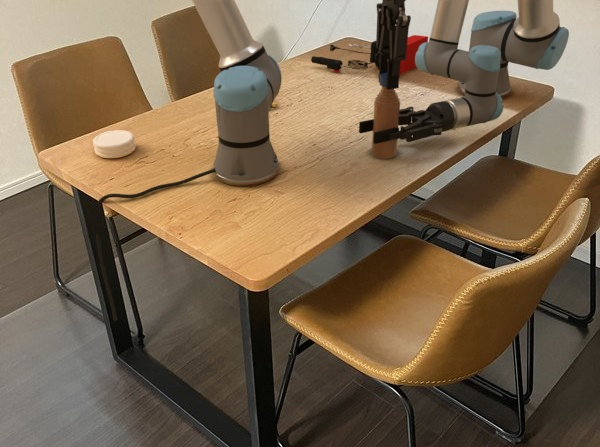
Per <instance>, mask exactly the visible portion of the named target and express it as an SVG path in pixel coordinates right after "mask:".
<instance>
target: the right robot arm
mask: <svg viewBox="0 0 600 447" xmlns="http://www.w3.org/2000/svg"><path fill="white" fill-rule="evenodd" d="M469 2H470V0H438V1H437V4H436V9H435V14H434V18H433V22H432V27H431V31H430V36H429V38H428V43H427V42H425V43H423V44H421V45H420V47H419V48H418V51H417V52H416V56H415V64H416V67H415V68H417V69H418V70H419V71H420V72H424V73H427V74H430V75H432V76H436V77H437V76H438V77H442V78H446V79H450V80H453V81H458V84H457V90H458V92H459V93H460V94H461V95H463V96H461V97H454V98H450V99H446V100H442V101H441V100H440V101H436V102H432V103H430V104H429V105H428V107H426V109H425V110H424V109H420V110H414V106H408V107H405V108H400V112H399V125H398V127H396V128H391V129H387V130H382V131H377V132H374V139H373V143H374V144H377V143H382V142H386V141H391V140H395V139H397V140H401V141H402V140H403V141H404V140H405V141H406V142H407V143H411V142H415V141H419V140H422V139H426V138H429V137H433V136H435V137H436V136H441V135H442V133H444V132H445V133H446V132H448V131H453V130H454V131H456V130H457V129H462V128H465V127H470V126H475V125H479V124H486V123H488V122H492V121H495V120H497V119H498V118H500V117H501V115H502V113H503V111H504V104H503V98H506V97H508V96H509V95H510V94H511V88H512V86H511V81H510V75H509V69H508V68H509V63H511V64H516V65H519V66H523V67H528V68H532V69H536V70H545V71H549V70H552V69H553V68H555V67H556V66H557V64H558V63H559V61H560V60H561V58H562V56H563V54H564V52H565V50H566V48H567V44H568V42H569V37H570V36H569V35H570V31H569V29H568V28H567V27H565V26H561V24H560V22H561V20H560V17H559V15H558V13H557V12H555V11H554V0H517V12H518V14H517V13H516V11H513V10H490V11H484V12H481V13H478V14H477V15H476V16H474V18H473V21H472V25H471V29H470V37H469V38H470V39H469V47H468V50H463V49H460V48H459V43H460V38H461V34H462V30H463V26H464V22H465V19H466V14H467V10H468V6H469ZM373 119H374V118H371V119H367V120H362V121H359V122H358V123H359V124H358V127H359V128H358V133H359V134H364V133H369V132H373ZM399 126H400V127H399Z"/></svg>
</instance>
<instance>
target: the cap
mask: <svg viewBox="0 0 600 447" xmlns="http://www.w3.org/2000/svg"><path fill="white" fill-rule="evenodd" d="M386 84H387V72H385V73H381V74H380V83H379V86H380V87H381V88H382V87H386Z"/></svg>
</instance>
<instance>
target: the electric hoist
mask: <svg viewBox="0 0 600 447" xmlns="http://www.w3.org/2000/svg"><path fill="white" fill-rule="evenodd" d="M425 42H427V43H428V42H429V36H427V35H420V34H419V35H417V34H413V35H410V36H408V41H407V51H406V60H404V61H400V74H399V76H401V75H403V74H405V73H407V72H408V71H411V70H414V69H415V68H417V67H416V64H415V56H416V52H417V51H418V48H419V47H420V45H421V44H423V43H425ZM348 46H350V47H358V48H359V49H363V48H365V49H368V50H370V52H365V54H366V55H367V54H368V55H369V62H367V61H365V60H358V59H350V60H347V65H343V60H342V59H341V60H340V59H335V58H329V57H324V56H315V55H313V56H311V59H310V61H311V63H312V64H317V65H322V66H326V69H329V70H333V72H334V73H340V70H341V69H342V68H348V69H352V70H360V69H363V70H366V69H368V68H369V66H368V65H371V64H374V66H375V67H376V68H377V69H378V71H379V64H380V54H381V53H379V48H376V40H374V41H371V43H370V45H365V44H362V43H359V44H357V43H348ZM335 50H343V51H348V52H355V53H360V54H364V52H362V51H357V50H351V49H347V48H340V47H338V46H335V45H334V44H330V45H329V51H330V52H334V51H335ZM388 53H390V52H388Z"/></svg>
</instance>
